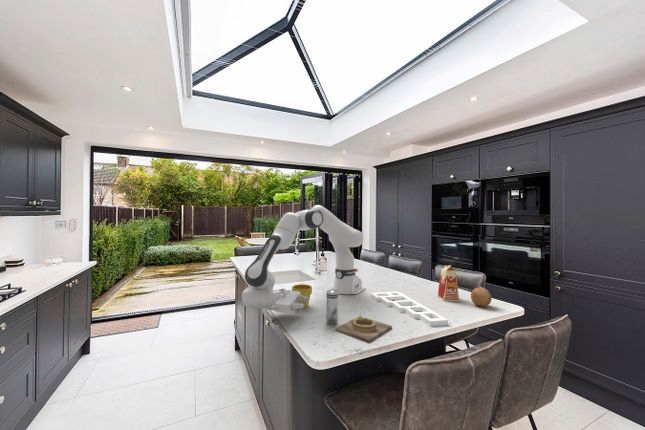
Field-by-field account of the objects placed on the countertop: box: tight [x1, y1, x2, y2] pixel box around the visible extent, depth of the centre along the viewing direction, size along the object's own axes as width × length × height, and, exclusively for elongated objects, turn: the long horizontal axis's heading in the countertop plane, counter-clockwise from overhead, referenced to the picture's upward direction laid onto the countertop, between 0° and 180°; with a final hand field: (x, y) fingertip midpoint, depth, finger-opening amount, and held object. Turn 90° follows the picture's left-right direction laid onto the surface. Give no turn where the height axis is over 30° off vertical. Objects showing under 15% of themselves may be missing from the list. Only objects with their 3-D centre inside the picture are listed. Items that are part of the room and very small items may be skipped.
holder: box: [370, 291, 449, 327], centre depth 141 cm, size 45×18×3 cm, turn 13°
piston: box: [325, 288, 339, 326], centre depth 121 cm, size 5×5×14 cm
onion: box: [470, 286, 492, 308], centre depth 147 cm, size 10×10×10 cm
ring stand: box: [334, 316, 393, 344], centre depth 115 cm, size 18×16×3 cm
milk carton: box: [437, 264, 461, 302], centre depth 159 cm, size 9×9×20 cm
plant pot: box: [291, 283, 313, 308], centre depth 143 cm, size 10×10×10 cm
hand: (305, 302), depth 123 cm, fingers open, 8 cm apart
